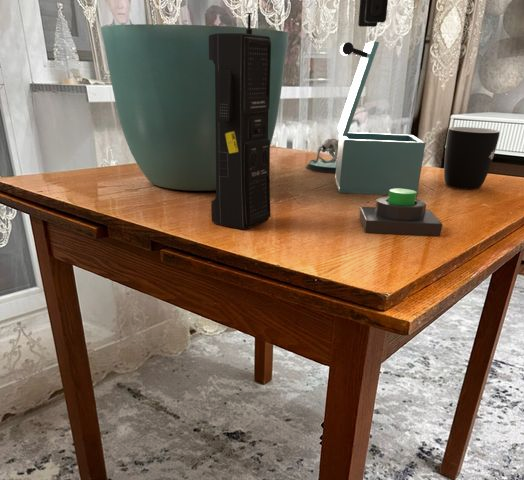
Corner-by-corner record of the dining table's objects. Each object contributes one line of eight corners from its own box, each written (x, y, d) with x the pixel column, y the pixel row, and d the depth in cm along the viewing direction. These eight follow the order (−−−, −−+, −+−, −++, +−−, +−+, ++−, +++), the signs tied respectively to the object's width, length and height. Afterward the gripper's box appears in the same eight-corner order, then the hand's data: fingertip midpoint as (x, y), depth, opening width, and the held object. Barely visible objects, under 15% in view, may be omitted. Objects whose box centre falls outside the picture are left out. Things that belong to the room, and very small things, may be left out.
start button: (411, 201, 76) (413, 189, 75) (416, 207, 73) (419, 194, 72) (386, 200, 76) (387, 187, 75) (389, 206, 73) (391, 193, 72)
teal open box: (405, 183, 104) (412, 134, 100) (416, 196, 94) (425, 142, 90) (334, 180, 105) (339, 131, 101) (338, 192, 95) (343, 139, 91)
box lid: (370, 44, 94) (343, 35, 94) (379, 42, 84) (348, 32, 83) (341, 129, 101) (316, 121, 100) (346, 137, 90) (318, 128, 90)
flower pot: (78, 185, 93) (58, 22, 82) (179, 163, 117) (174, 34, 105) (229, 210, 81) (229, 23, 70) (306, 179, 105) (316, 36, 94)
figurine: (292, 166, 117) (293, 136, 114) (332, 162, 124) (335, 133, 121) (327, 175, 109) (329, 142, 107) (368, 170, 116) (372, 139, 113)
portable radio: (244, 233, 70) (247, 7, 59) (206, 225, 73) (202, 7, 61) (272, 220, 77) (280, 13, 65) (236, 214, 79) (238, 13, 67)
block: (427, 221, 79) (431, 196, 78) (440, 236, 72) (445, 210, 70) (359, 218, 80) (361, 193, 78) (365, 232, 72) (368, 206, 71)
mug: (489, 192, 99) (503, 133, 94) (439, 188, 101) (449, 130, 96) (483, 181, 109) (494, 127, 105) (437, 177, 111) (446, 124, 106)
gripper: (421, -130, 72) (403, 20, 80) (399, -95, 87) (386, 28, 95) (364, -130, 72) (352, 20, 80) (352, -96, 87) (343, 27, 95)
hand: (371, 24), depth 88 cm, fingers open, 9 cm apart
